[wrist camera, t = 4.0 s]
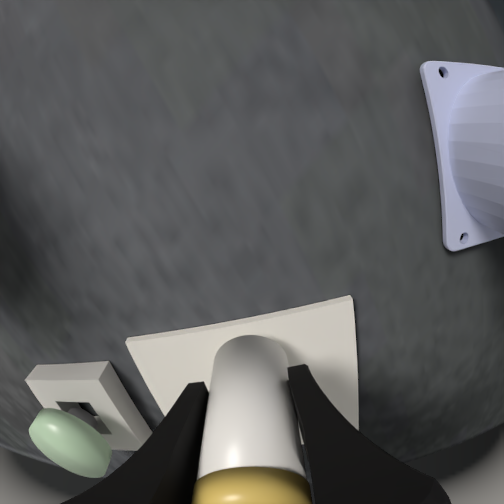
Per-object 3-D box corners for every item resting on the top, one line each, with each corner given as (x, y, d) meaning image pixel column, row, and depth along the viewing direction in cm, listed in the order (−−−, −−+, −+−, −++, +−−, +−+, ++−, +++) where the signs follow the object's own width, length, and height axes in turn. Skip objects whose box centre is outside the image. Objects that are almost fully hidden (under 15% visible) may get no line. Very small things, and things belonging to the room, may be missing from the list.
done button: (94, 389, 13) (73, 428, 10) (133, 444, 14) (121, 481, 11) (36, 388, 13) (14, 420, 10) (75, 440, 14) (60, 471, 12)
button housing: (109, 360, 14) (98, 379, 12) (152, 432, 15) (147, 451, 14) (36, 364, 14) (24, 380, 13) (81, 429, 16) (73, 445, 14)
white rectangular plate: (349, 295, 13) (352, 299, 12) (357, 426, 15) (358, 431, 15) (127, 337, 13) (125, 342, 13) (191, 452, 16) (191, 457, 16)
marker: (281, 326, 12) (307, 492, 5) (295, 384, 13) (319, 530, 6) (202, 342, 12) (168, 502, 5) (225, 396, 13) (213, 540, 6)
